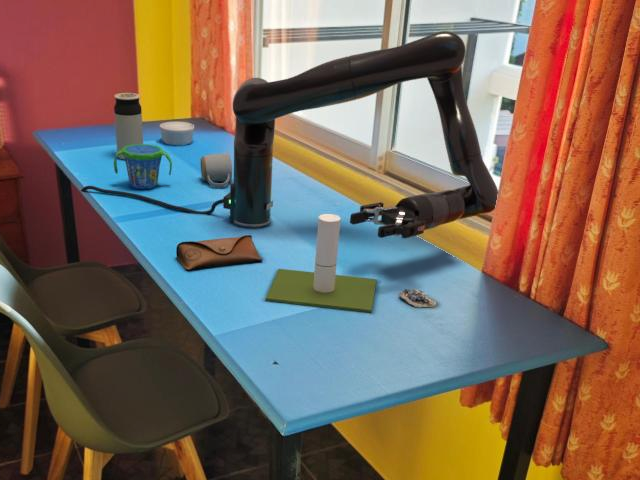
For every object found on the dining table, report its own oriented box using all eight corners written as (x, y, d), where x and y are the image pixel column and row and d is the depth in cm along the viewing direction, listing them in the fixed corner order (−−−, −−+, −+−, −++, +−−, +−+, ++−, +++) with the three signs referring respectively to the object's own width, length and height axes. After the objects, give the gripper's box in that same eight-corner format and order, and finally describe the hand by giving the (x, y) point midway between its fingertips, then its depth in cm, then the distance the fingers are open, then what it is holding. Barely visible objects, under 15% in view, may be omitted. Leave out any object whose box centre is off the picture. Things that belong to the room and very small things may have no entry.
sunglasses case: (187, 270, 164) (182, 238, 163) (179, 274, 170) (174, 244, 170) (265, 260, 170) (260, 229, 169) (254, 264, 176) (250, 235, 176)
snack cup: (175, 181, 217) (174, 144, 211) (169, 193, 208) (167, 155, 202) (120, 178, 217) (117, 142, 212) (111, 190, 208) (109, 152, 203)
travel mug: (149, 156, 237) (146, 95, 227) (132, 162, 231) (128, 99, 221) (129, 151, 240) (125, 91, 231) (112, 157, 235) (107, 95, 225)
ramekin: (193, 147, 247) (192, 130, 244) (158, 146, 247) (157, 129, 244) (195, 138, 256) (195, 121, 254) (162, 137, 256) (161, 120, 254)
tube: (333, 293, 156) (339, 222, 148) (312, 291, 157) (317, 220, 149) (335, 285, 159) (341, 215, 152) (314, 282, 160) (320, 213, 152)
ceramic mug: (199, 177, 220) (199, 150, 216) (227, 176, 222) (228, 149, 218) (206, 189, 212) (205, 161, 207) (235, 188, 213) (235, 160, 209)
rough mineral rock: (409, 289, 160) (410, 280, 159) (444, 300, 156) (445, 292, 155) (392, 299, 156) (393, 291, 155) (427, 311, 152) (429, 303, 150)
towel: (265, 300, 154) (265, 298, 153) (278, 271, 166) (278, 268, 166) (371, 312, 150) (371, 310, 150) (376, 281, 163) (376, 279, 163)
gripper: (401, 185, 168) (344, 197, 160) (449, 205, 158) (391, 218, 150) (396, 219, 172) (340, 232, 164) (443, 239, 162) (386, 255, 154)
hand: (365, 225), depth 157 cm, fingers open, 8 cm apart
